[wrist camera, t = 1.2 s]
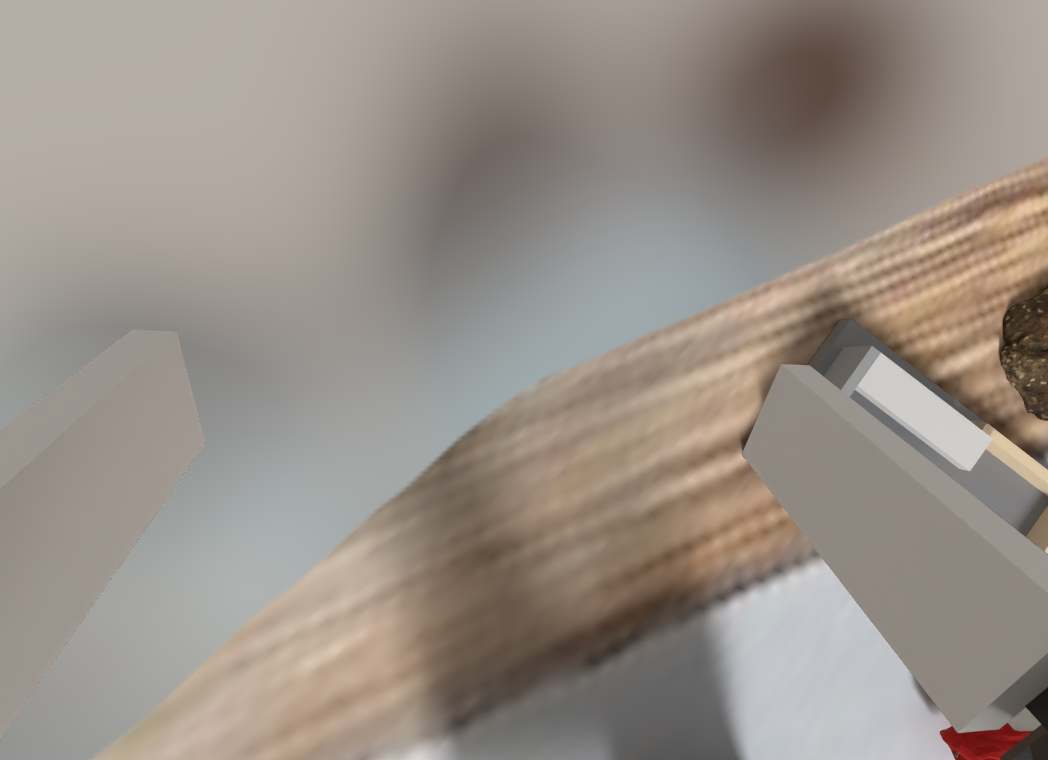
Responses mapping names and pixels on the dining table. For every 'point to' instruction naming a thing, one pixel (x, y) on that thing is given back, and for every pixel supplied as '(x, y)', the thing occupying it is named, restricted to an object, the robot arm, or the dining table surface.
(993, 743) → the white and red figurine
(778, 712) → the dining table surface
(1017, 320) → the bread roll
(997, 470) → the keyhole board
